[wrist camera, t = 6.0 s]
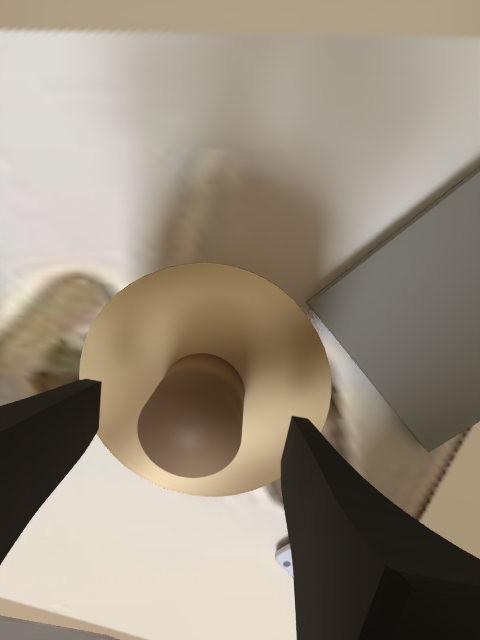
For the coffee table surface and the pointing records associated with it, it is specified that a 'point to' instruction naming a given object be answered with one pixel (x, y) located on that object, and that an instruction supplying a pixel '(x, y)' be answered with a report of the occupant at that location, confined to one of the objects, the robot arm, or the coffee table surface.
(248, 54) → the coffee table surface
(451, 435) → the mat
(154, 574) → the coffee table surface
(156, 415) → the lid
